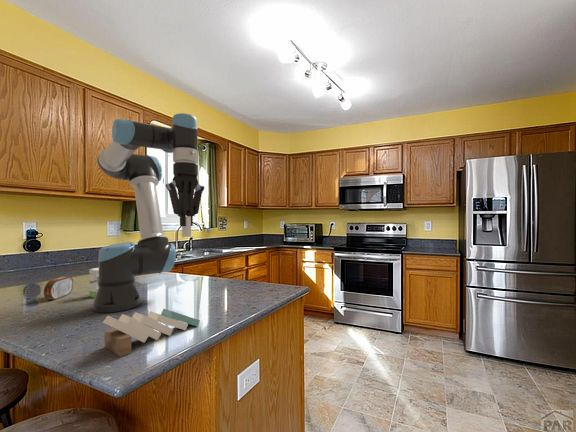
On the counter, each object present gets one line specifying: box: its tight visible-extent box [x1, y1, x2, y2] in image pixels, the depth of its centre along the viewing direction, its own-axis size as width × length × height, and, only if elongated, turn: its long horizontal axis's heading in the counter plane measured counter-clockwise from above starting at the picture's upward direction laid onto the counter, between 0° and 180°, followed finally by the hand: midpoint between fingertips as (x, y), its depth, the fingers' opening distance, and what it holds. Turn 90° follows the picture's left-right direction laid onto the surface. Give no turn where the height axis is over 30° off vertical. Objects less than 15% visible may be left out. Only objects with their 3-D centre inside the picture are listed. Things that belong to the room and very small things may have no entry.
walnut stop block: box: [104, 328, 132, 358], centre depth 73 cm, size 9×2×4 cm, turn 52°
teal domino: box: [160, 308, 201, 327], centre depth 87 cm, size 2×5×10 cm
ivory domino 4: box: [147, 311, 189, 331], centre depth 84 cm, size 2×5×10 cm
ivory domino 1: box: [102, 315, 149, 344], centre depth 75 cm, size 2×5×10 cm
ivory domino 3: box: [131, 311, 174, 337], centre depth 81 cm, size 2×5×10 cm
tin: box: [43, 275, 74, 301], centre depth 127 cm, size 15×3×8 cm, turn 5°
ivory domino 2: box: [117, 313, 162, 341], centre depth 78 cm, size 2×5×10 cm
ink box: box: [88, 267, 99, 299], centre depth 129 cm, size 9×5×12 cm, turn 149°
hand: (186, 236), depth 96 cm, fingers closed
